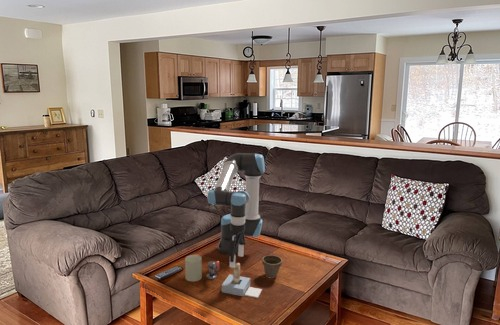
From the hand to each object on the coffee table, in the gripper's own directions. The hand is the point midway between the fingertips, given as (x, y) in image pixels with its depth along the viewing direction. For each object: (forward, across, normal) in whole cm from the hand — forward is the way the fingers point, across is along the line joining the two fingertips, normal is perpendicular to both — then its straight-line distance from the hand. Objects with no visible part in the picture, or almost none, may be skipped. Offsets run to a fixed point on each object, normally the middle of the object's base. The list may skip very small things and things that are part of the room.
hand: (236, 261), depth 196 cm
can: (+16, -3, -26) cm, 31 cm away
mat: (+16, 0, +10) cm, 19 cm away
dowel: (+16, 0, 0) cm, 16 cm away
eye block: (+16, 0, 0) cm, 16 cm away
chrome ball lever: (+9, -5, -15) cm, 18 cm away
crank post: (+16, -8, -17) cm, 24 cm away
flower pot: (+16, -20, +14) cm, 30 cm away
